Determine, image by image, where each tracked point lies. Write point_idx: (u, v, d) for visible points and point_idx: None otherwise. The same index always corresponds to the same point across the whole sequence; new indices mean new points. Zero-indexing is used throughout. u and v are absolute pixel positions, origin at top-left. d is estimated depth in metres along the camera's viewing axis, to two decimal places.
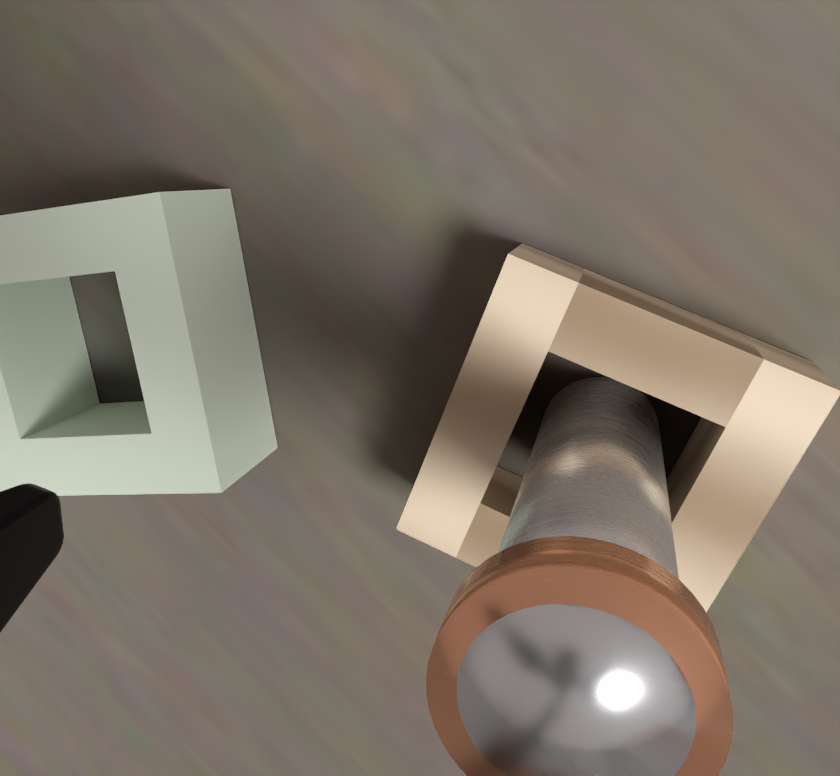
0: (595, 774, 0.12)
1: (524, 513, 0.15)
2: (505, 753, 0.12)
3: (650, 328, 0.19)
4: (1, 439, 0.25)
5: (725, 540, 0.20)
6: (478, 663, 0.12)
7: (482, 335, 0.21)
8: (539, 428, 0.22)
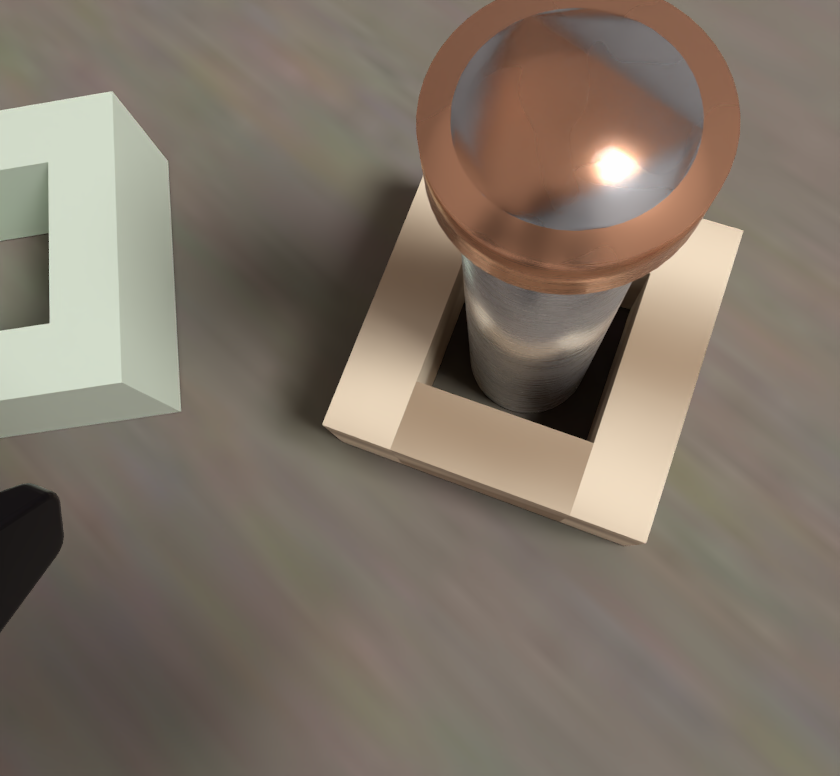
0: (609, 187, 0.11)
1: None
2: (508, 185, 0.11)
3: None
4: None
5: (671, 388, 0.20)
6: (472, 87, 0.11)
7: (415, 212, 0.22)
8: None
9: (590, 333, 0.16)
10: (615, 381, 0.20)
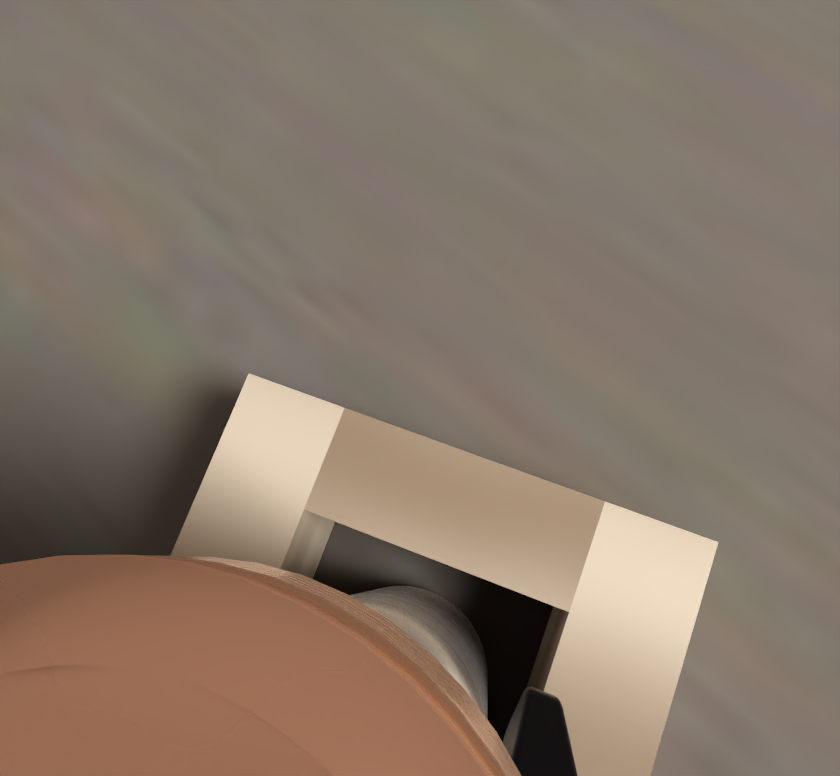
0: None
1: None
2: None
3: (445, 465, 0.14)
4: None
5: None
6: None
7: (208, 491, 0.14)
8: None
9: None
10: None
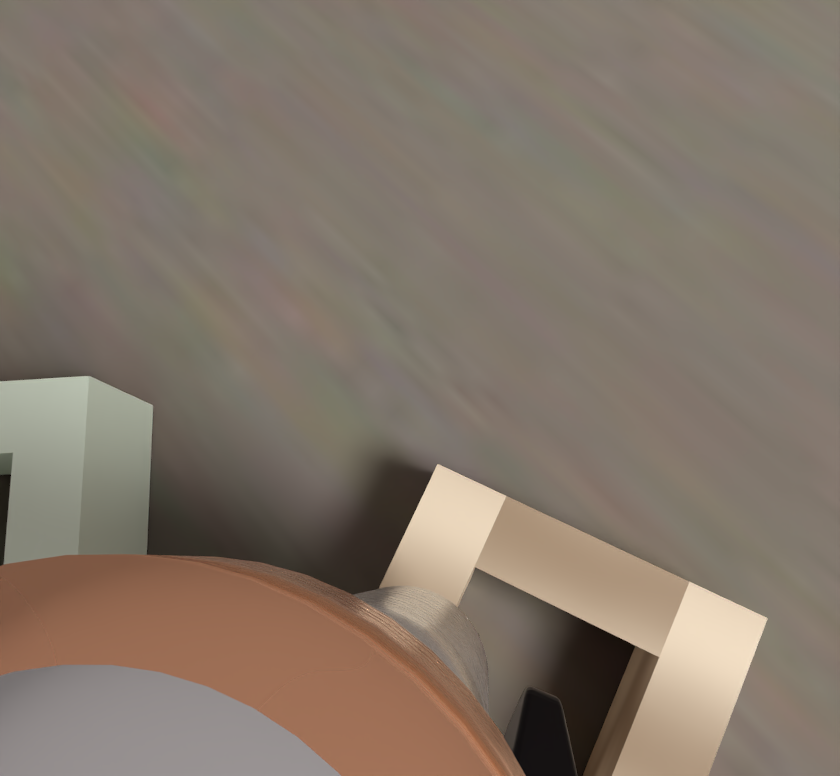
0: None
1: None
2: None
3: (577, 545, 0.19)
4: None
5: None
6: None
7: (406, 547, 0.20)
8: None
9: None
10: None
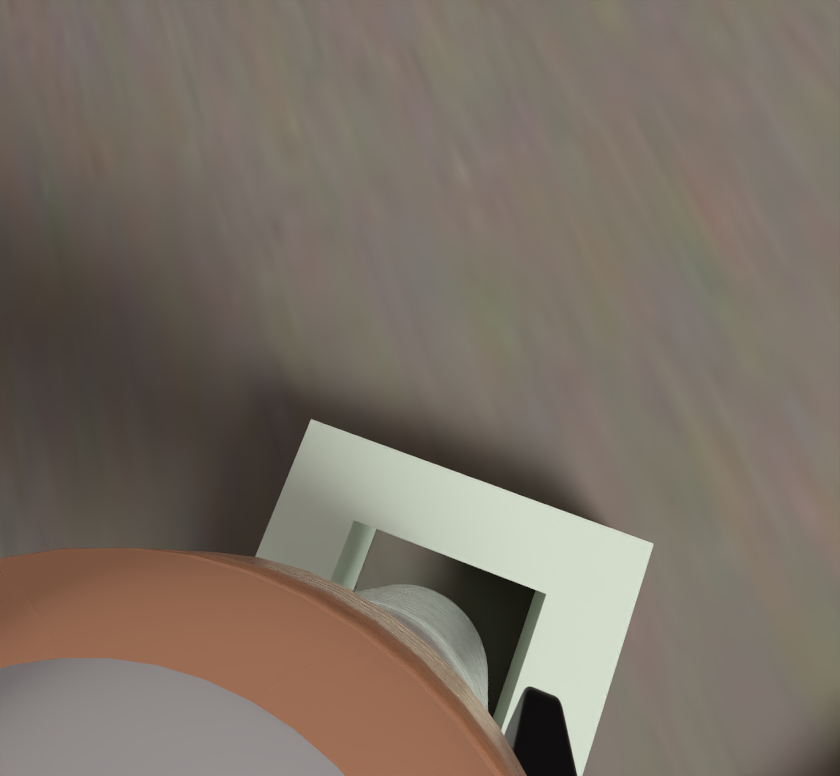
0: None
1: None
2: None
3: None
4: None
5: None
6: None
7: None
8: None
9: None
10: None
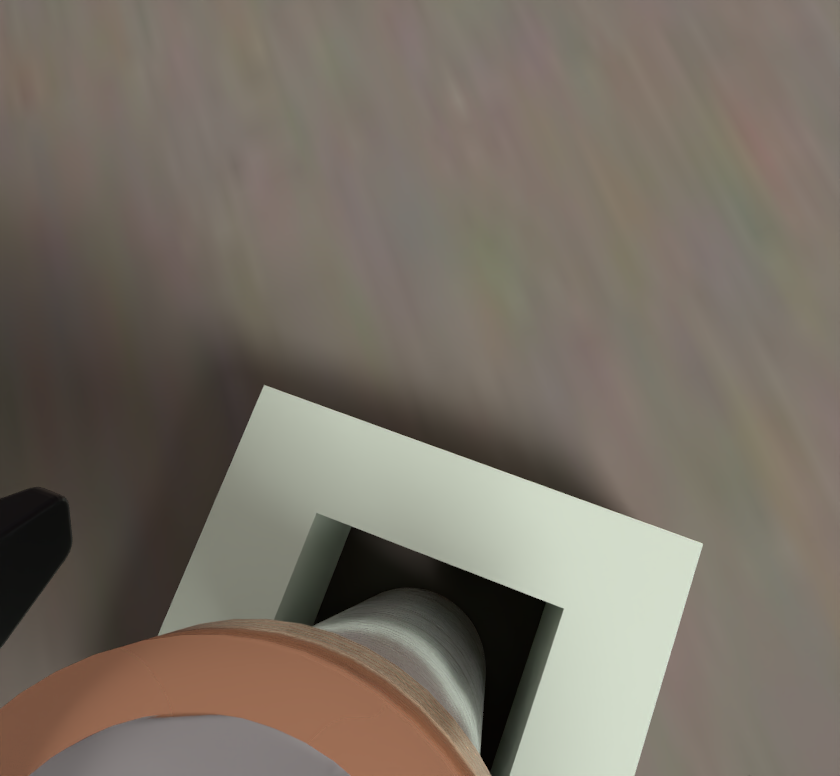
0: None
1: None
2: None
3: None
4: None
5: None
6: None
7: None
8: None
9: None
10: None
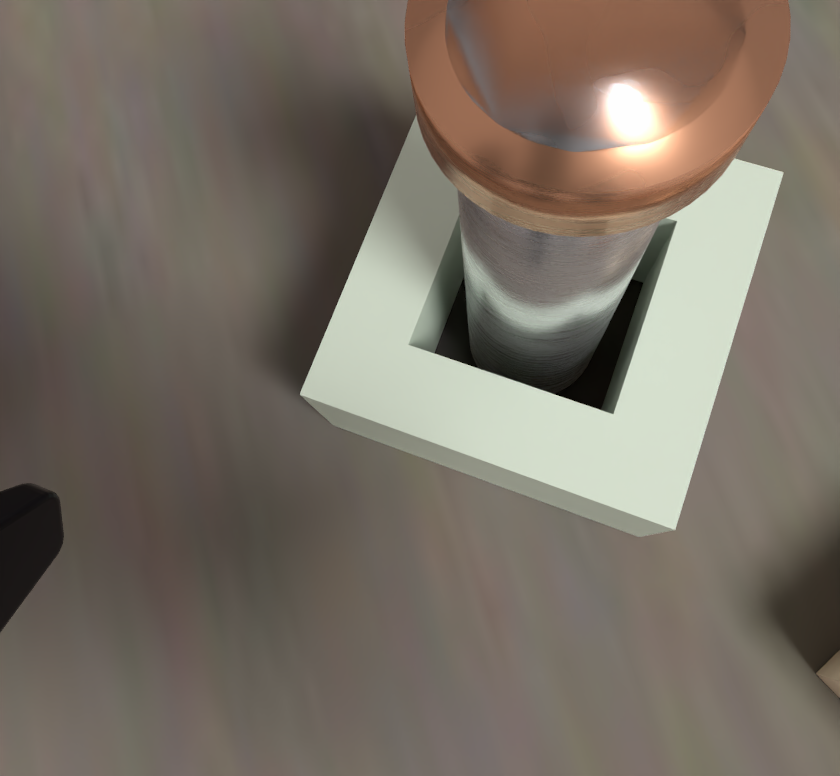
0: (634, 102, 0.09)
1: None
2: (513, 101, 0.09)
3: None
4: (378, 333, 0.18)
5: None
6: None
7: None
8: None
9: (603, 298, 0.14)
10: None
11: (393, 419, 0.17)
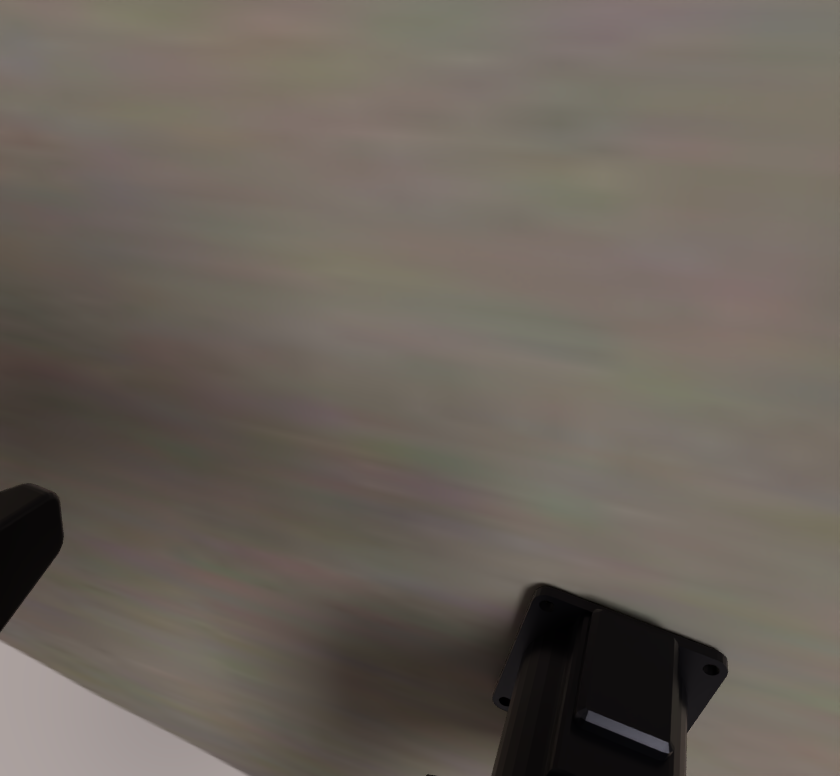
0: None
1: None
2: None
3: None
4: None
5: None
6: None
7: None
8: None
9: None
10: None
11: None
